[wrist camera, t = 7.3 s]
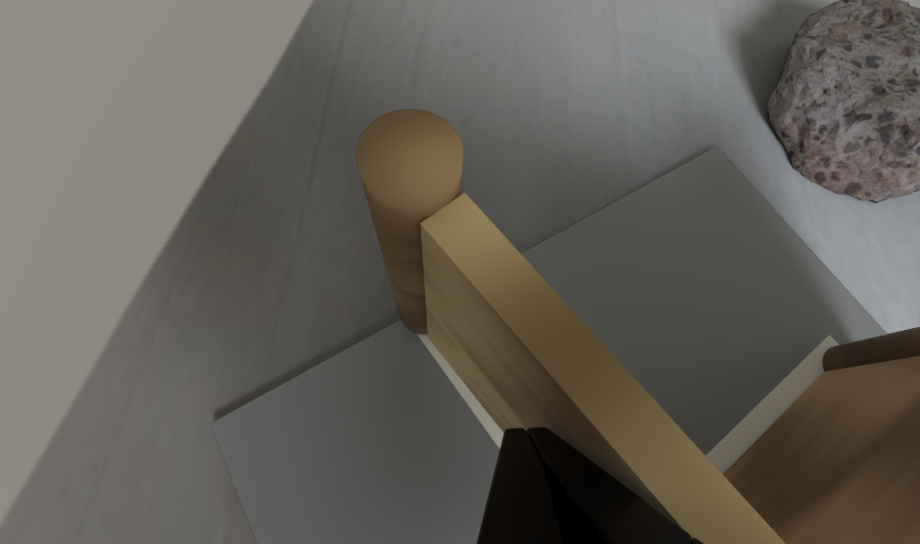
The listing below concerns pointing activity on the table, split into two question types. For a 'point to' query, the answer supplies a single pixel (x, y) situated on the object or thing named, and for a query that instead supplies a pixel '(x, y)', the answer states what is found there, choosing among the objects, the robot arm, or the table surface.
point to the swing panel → (526, 333)
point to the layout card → (612, 321)
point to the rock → (854, 99)
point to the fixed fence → (844, 450)
